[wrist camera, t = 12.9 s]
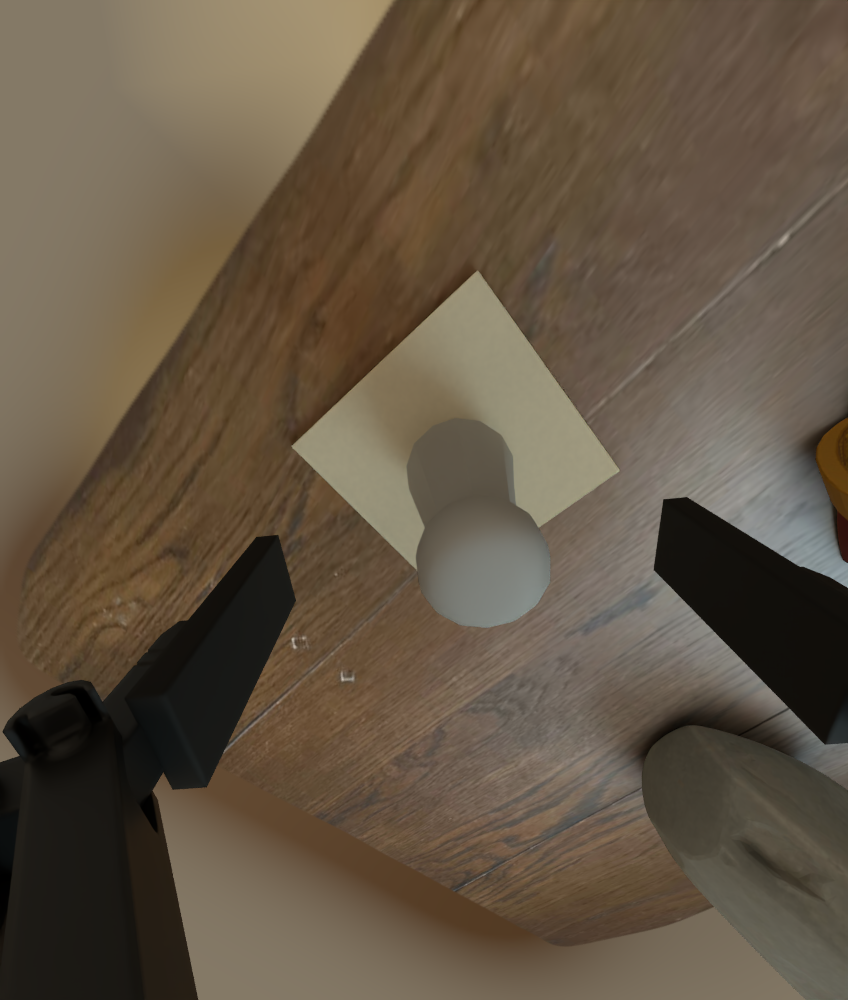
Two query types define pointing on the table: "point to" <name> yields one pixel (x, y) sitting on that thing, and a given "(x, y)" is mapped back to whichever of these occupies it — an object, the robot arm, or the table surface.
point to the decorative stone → (759, 847)
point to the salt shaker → (474, 527)
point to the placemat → (455, 394)
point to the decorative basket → (836, 476)
